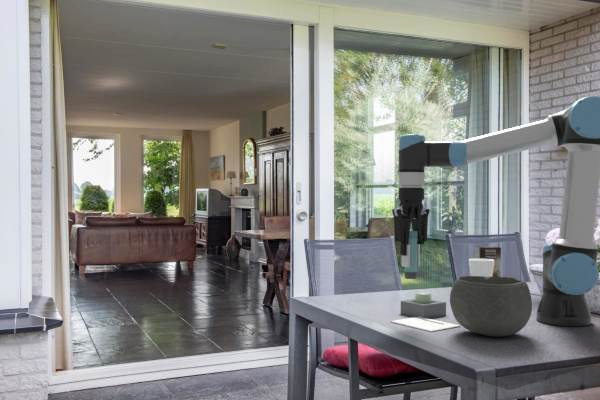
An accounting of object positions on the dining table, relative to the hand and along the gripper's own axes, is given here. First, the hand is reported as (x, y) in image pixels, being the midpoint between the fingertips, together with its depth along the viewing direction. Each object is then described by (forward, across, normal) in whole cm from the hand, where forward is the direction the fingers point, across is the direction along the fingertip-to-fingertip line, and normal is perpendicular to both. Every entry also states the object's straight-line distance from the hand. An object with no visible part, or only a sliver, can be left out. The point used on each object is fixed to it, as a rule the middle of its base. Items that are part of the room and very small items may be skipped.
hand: (410, 266), depth 180 cm
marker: (+4, 0, 0) cm, 4 cm away
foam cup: (+17, -62, -23) cm, 68 cm away
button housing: (+17, -13, -7) cm, 22 cm away
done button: (+15, -13, -7) cm, 21 cm away
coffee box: (+17, -84, -37) cm, 93 cm away
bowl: (+17, -7, +23) cm, 29 cm away
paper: (+17, -2, +4) cm, 17 cm away
